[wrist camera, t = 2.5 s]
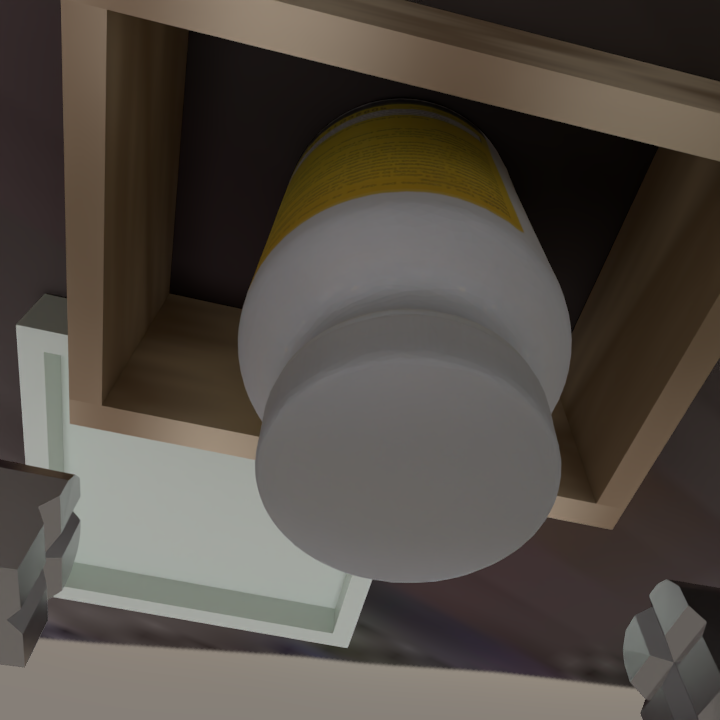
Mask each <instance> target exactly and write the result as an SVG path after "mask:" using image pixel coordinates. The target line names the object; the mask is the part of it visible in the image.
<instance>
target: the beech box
mask: <svg viewBox="0 0 720 720" xmlns="http://www.w3.org/2000/svg"><path fill="white" fill-rule="evenodd" d="M61 30H62V78H63V126H64V175H65V223H66V271H67V320H68V368H69V416H70V424H73V425H78V426H84V427H89V428H94V429H99V430H104V431H109V432H114V433H119V434H125V435H130V436H135V437H140V438H145V439H150V440H155V441H160V442H165V443H171V444H176V445H181V446H186V447H191V448H196V449H201V450H206V451H212V452H217V453H222V454H227V455H232V456H237V457H242V458H247V459H253V460H255V459H256V450H257V445H258V440H259V435H260V430H261V425H262V421H261V419H260V418H259V416H258V414H257V413H256V411H255V409H254V407H253V405H252V403H251V401H250V399H249V397H248V394H247V391H246V389H245V386H244V382H243V379H242V375H241V370H240V364H239V357H238V331H239V323H240V318H241V312H242V309H239V308H235V307H230V306H225V305H221V304H216V303H211V302H207V301H202V300H197V299H193V298H188V297H183V296H179V295H174V294H169V290H170V277H171V263H172V250H173V237H174V223H175V210H176V196H177V183H178V169H179V156H180V143H181V129H182V116H183V102H184V89H185V75H186V62H187V49H188V35H189V30H191V31H195V32H199V33H203V34H208V35H212V36H216V37H220V38H224V39H228V40H232V41H236V42H240V43H244V44H248V45H252V46H256V47H260V48H264V49H268V50H272V51H276V52H280V53H284V54H288V55H292V56H296V57H300V58H304V59H308V60H312V61H317V62H321V63H325V64H329V65H333V66H337V67H341V68H345V69H349V70H353V71H357V72H361V73H365V74H369V75H373V76H377V77H381V78H385V79H389V80H393V81H397V82H401V83H405V84H409V85H413V86H417V87H421V88H426V89H430V90H434V91H438V92H442V93H446V94H450V95H454V96H458V97H462V98H466V99H470V100H474V101H478V102H482V103H486V104H490V105H494V106H498V107H502V108H506V109H510V110H514V111H518V112H522V113H526V114H530V115H535V116H539V117H543V118H547V119H551V120H555V121H559V122H563V123H567V124H571V125H575V126H579V127H583V128H587V129H591V130H595V131H599V132H603V133H607V134H611V135H615V136H619V137H623V138H627V139H631V140H635V141H639V142H644V143H648V144H652V145H656V146H659V147H658V149H657V152H656V154H655V156H654V158H653V160H652V162H651V164H650V167H649V169H648V171H647V173H646V175H645V177H644V180H643V182H642V184H641V186H640V188H639V190H638V192H637V195H636V197H635V199H634V201H633V203H632V205H631V207H630V210H629V212H628V214H627V216H626V218H625V220H624V222H623V225H622V227H621V229H620V231H619V233H618V235H617V237H616V240H615V242H614V244H613V246H612V248H611V250H610V252H609V255H608V257H607V259H606V261H605V263H604V265H603V267H602V270H601V272H600V274H599V276H598V278H597V280H596V282H595V285H594V287H593V289H592V291H591V293H590V295H589V297H588V300H587V302H586V304H585V306H584V308H583V310H582V312H581V315H580V317H579V319H578V321H577V323H576V325H575V327H574V330H573V332H572V334H571V336H572V345H571V359H570V365H569V371H568V375H567V379H566V383H565V386H564V388H563V391H562V393H561V396H560V398H559V401H558V403H557V404H556V406H555V408H554V410H553V412H552V414H551V416H552V420H553V425H554V429H555V433H556V436H557V440H558V444H559V450H560V456H561V479H560V485H559V490H558V494H557V497H556V500H555V503H554V505H553V507H552V509H551V511H550V513H549V515H548V516H547V517H549V518H555V519H560V520H565V521H570V522H575V523H580V524H585V525H590V526H596V527H601V528H606V529H611V530H612V529H613V528H614V526H615V524H616V523H617V521H618V520H619V518H620V516H621V515H622V513H623V512H624V510H625V508H626V507H627V505H628V504H629V502H630V500H631V499H632V497H633V496H634V494H635V492H636V491H637V489H638V488H639V486H640V484H641V483H642V481H643V480H644V478H645V476H646V475H647V473H648V472H649V470H650V468H651V467H652V465H653V464H654V462H655V460H656V459H657V457H658V456H659V454H660V452H661V451H662V449H663V448H664V446H665V444H666V443H667V441H668V439H669V438H670V436H671V435H672V433H673V431H674V430H675V428H676V427H677V425H678V423H679V422H680V420H681V419H682V417H683V415H684V414H685V412H686V411H687V409H688V407H689V406H690V404H691V403H692V401H693V399H694V398H695V396H696V395H697V393H698V391H699V390H700V388H701V387H702V385H703V383H704V382H705V380H706V379H707V377H708V375H709V374H710V372H711V371H712V369H713V367H714V366H715V364H716V363H717V361H718V359H719V358H720V82H719V81H715V80H711V79H707V78H704V77H700V76H696V75H692V74H688V73H684V72H680V71H677V70H673V69H669V68H665V67H661V66H657V65H653V64H649V63H646V62H642V61H638V60H634V59H630V58H626V57H622V56H618V55H615V54H611V53H607V52H603V51H599V50H595V49H591V48H588V47H584V46H580V45H576V44H572V43H568V42H564V41H560V40H557V39H553V38H549V37H545V36H541V35H537V34H533V33H529V32H526V31H522V30H518V29H514V28H510V27H506V26H502V25H499V24H495V23H491V22H487V21H483V20H479V19H475V18H471V17H468V16H464V15H460V14H456V13H452V12H448V11H444V10H440V9H437V8H433V7H429V6H425V5H421V4H417V3H413V2H410V1H406V0H61Z"/></svg>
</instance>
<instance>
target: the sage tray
mask: <svg viewBox="0 0 720 720" xmlns="http://www.w3.org/2000/svg"><path fill="white" fill-rule="evenodd" d="M16 334H17V348H18V362H19V376H20V391H21V405H22V419H23V433H24V448H25V462H26V465H30V466H35V467H40V468H45V469H50V470H55V471H60V472H65V473H70V474H75V475H76V476H78V477H79V478H80V493H81V496H80V498H79V500H78V502H77V504H76V506H75V508H74V510H73V512H74V513H75V514H76V515H77V516H78V518H79V519H80V520H81V527H80V539H79V545H78V551H77V554H76V557H75V560H74V563H73V567H72V570H71V573H70V575H69V577H68V579H67V581H66V583H65V586H64V588H63V590H62V591H61V592H59V593H58V594H56V595H55V596H53V597H56V598H62V599H68V600H74V601H79V602H85V603H91V604H97V605H103V606H108V607H114V608H120V609H126V610H131V611H137V612H143V613H149V614H154V615H160V616H166V617H172V618H177V619H183V620H189V621H195V622H200V623H206V624H212V625H218V626H224V627H229V628H235V629H241V630H247V631H252V632H258V633H264V634H270V635H275V636H281V637H287V638H293V639H298V640H304V641H310V642H316V643H321V644H327V645H333V646H339V647H345V648H348V646H349V643H350V640H351V637H352V635H353V632H354V629H355V626H356V623H357V621H358V618H359V615H360V612H361V609H362V607H363V604H364V601H365V598H366V596H367V593H368V590H369V587H370V584H371V582H372V579H367V578H362V577H358V576H355V575H351V574H348V573H344V572H342V571H339V570H337V569H334V568H332V567H330V566H328V565H325V564H323V563H321V562H320V561H318V560H316V559H314V558H312V557H311V556H309V555H308V554H306V553H305V552H303V551H302V550H300V549H299V548H298V547H297V546H295V545H294V544H293V543H292V542H291V541H290V540H289V539H288V538H287V537H285V536H284V535H283V533H282V532H281V531H280V530H279V529H278V528H277V526H276V525H275V524H274V522H273V521H272V519H271V518H270V516H269V515H268V513H267V511H266V509H265V507H264V505H263V503H262V500H261V497H260V494H259V491H258V487H257V482H256V476H255V460H253V459H247V458H242V457H237V456H232V455H227V454H222V453H217V452H212V451H206V450H201V449H196V448H191V447H186V446H181V445H176V444H171V443H165V442H160V441H155V440H150V439H145V438H140V437H135V436H130V435H125V434H119V433H114V432H109V431H104V430H99V429H94V428H89V427H84V426H78V425H73V424H70V416H69V368H68V320H67V298H62V297H58V296H53V295H48V294H44V295H43V296H42V297H41V298H40V299H39V300H38V301H37V303H36V304H35V305H34V306H33V307H32V308H31V309H30V310H29V311H28V312H27V313H26V314H25V315H24V316H23V318H22V319H21V320H20V321H19V322H18V323H17V324H16Z"/></svg>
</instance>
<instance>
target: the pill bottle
mask: <svg viewBox="0 0 720 720" xmlns="http://www.w3.org/2000/svg"><path fill="white" fill-rule="evenodd" d="M571 345H572V336H571V325H570V318H569V312H568V309H567V305H566V302H565V298H564V295H563V293H562V290H561V287H560V284H559V282H558V280H557V278H556V276H555V274H554V272H553V270H552V268H551V266H550V264H549V262H548V259H547V257H546V255H545V253H544V251H543V249H542V247H541V245H540V243H539V240H538V238H537V236H536V234H535V232H534V230H533V228H532V226H531V224H530V221H529V219H528V217H527V215H526V213H525V210H524V208H523V206H522V204H521V202H520V200H519V197H518V195H517V193H516V191H515V188H514V186H513V184H512V181H511V179H510V176H509V174H508V171H507V168H506V167H505V165H504V163H503V161H502V159H501V158H500V156H499V154H498V152H497V150H496V149H495V148H494V146H493V145H492V143H491V142H490V140H489V139H488V138H487V137H486V136H485V135H484V133H483V132H482V131H481V130H479V129H478V128H477V127H476V126H475V125H474V124H473V123H471V122H470V121H469V120H467V119H466V118H464V117H463V116H461V115H460V114H458V113H456V112H454V111H452V110H450V109H448V108H446V107H444V106H441V105H438V104H434V103H431V102H427V101H423V100H417V99H387V100H380V101H376V102H371V103H368V104H365V105H362V106H360V107H357V108H355V109H352V110H350V111H348V112H346V113H344V114H343V115H341V116H340V117H338V118H336V119H335V120H333V121H332V122H331V123H329V124H328V125H327V126H326V127H325V128H324V129H323V130H322V131H320V132H319V133H318V134H317V136H316V137H315V138H314V139H313V140H312V141H311V142H310V144H309V145H308V146H307V148H306V149H305V151H304V152H303V153H302V155H301V157H300V159H299V161H298V163H297V165H296V167H295V169H294V172H293V174H292V176H291V179H290V182H289V184H288V187H287V189H286V192H285V195H284V197H283V200H282V202H281V205H280V208H279V210H278V213H277V215H276V218H275V221H274V224H273V226H272V229H271V232H270V234H269V237H268V240H267V242H266V245H265V248H264V250H263V253H262V255H261V258H260V261H259V263H258V266H257V268H256V271H255V274H254V276H253V279H252V282H251V284H250V287H249V290H248V292H247V296H246V299H245V302H244V305H243V308H242V312H241V318H240V323H239V331H238V357H239V364H240V370H241V375H242V379H243V382H244V386H245V389H246V391H247V394H248V397H249V399H250V401H251V403H252V405H253V407H254V409H255V411H256V413H257V414H258V416H259V418H260V419H261V421H262V425H261V430H260V435H259V440H258V445H257V450H256V459H255V476H256V482H257V487H258V491H259V494H260V497H261V500H262V503H263V505H264V507H265V509H266V511H267V513H268V515H269V516H270V518H271V519H272V521H273V522H274V524H275V525H276V526H277V528H278V529H279V530H280V531H281V532H282V533H283V535H284V536H285V537H287V538H288V539H289V540H290V541H291V542H292V543H293V544H294V545H295V546H297V547H298V548H299V549H300V550H302V551H303V552H305V553H306V554H308V555H309V556H311V557H312V558H314V559H316V560H318V561H320V562H321V563H323V564H325V565H328V566H330V567H332V568H334V569H337V570H339V571H342V572H344V573H348V574H351V575H355V576H358V577H362V578H367V579H373V580H380V581H387V582H399V583H419V582H435V581H441V580H447V579H451V578H456V577H459V576H463V575H467V574H470V573H473V572H475V571H478V570H480V569H483V568H485V567H488V566H490V565H493V564H495V563H496V562H498V561H500V560H502V559H503V558H505V557H507V556H508V555H510V554H511V553H513V552H514V551H516V550H518V549H519V548H520V547H521V546H522V545H523V544H524V543H525V542H527V541H528V540H529V539H530V538H531V537H532V536H533V535H534V534H535V533H536V532H537V530H538V529H539V528H540V527H541V525H542V524H543V523H544V521H545V520H546V518H547V516H548V515H549V513H550V511H551V509H552V507H553V505H554V503H555V500H556V497H557V494H558V490H559V485H560V479H561V456H560V450H559V444H558V440H557V436H556V433H555V429H554V425H553V420H552V416H551V414H552V412H553V410H554V408H555V406H556V404H557V403H558V401H559V398H560V396H561V393H562V391H563V388H564V386H565V383H566V379H567V375H568V371H569V365H570V359H571Z"/></svg>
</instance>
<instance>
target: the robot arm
mask: <svg viewBox="0 0 720 720" xmlns="http://www.w3.org/2000/svg"><path fill="white" fill-rule="evenodd" d="M80 496H81V493H80V478H79V477H78V476H76V475H75V474H70V473H65V472H60V471H55V470H50V469H45V468H40V467H35V466H30V465H25V464H20V463H15V462H10V461H5V460H1V459H0V664H1V665H10V666H18V667H25V666H26V663H27V662H28V660H29V658H30V656H31V654H32V652H33V649H34V647H35V645H36V643H37V641H38V639H39V637H40V635H41V633H42V631H43V629H44V627H45V625H46V623H47V621H48V607H47V600H48V599H50V598H51V597H53V596H55V595H56V594H58V593H59V592H61V591H62V590H63V588H64V586H65V583H66V581H67V579H68V577H69V575H70V573H71V570H72V567H73V563H74V560H75V557H76V554H77V551H78V545H79V539H80V527H81V520H80V519H79V518H78V516H77V515H76V514H75V513H74V512H73V510H74V508H75V506H76V504H77V502H78V500H79V498H80ZM649 597H650V601H651V605H652V607H651V608H649V609H647V610H645V611H643V612H641V613H639V614H637V615H635V616H634V618H633V620H632V621H631V623H630V625H629V626H628V628H627V629H626V633H625V639H624V645H623V654H624V664H625V668H626V671H627V674H628V677H629V680H630V683H631V684H632V685H633V686H634V687H635V688H636V689H637V690H638V691H639V692H640V694H641V695H642V696H643V697H644V698H645V699H646V700H645V702H644V705H643V708H642V710H641V716H642V719H643V720H720V588H717V587H711V586H705V585H698V584H692V583H686V582H680V581H674V580H668V579H667V580H665V581H663V582H661V583H659V584H657V585H656V587H655V588H654V589H653V591H652V592H651V593H650V595H649Z"/></svg>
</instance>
